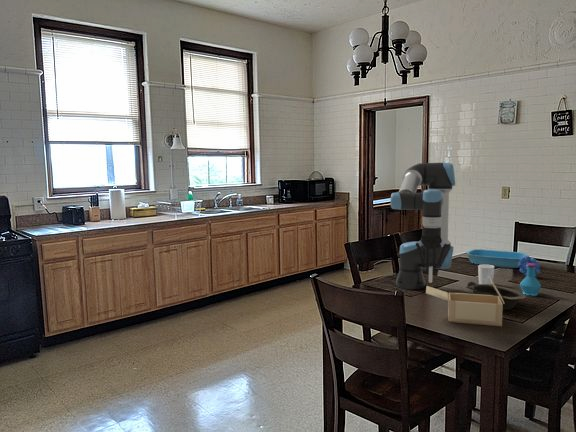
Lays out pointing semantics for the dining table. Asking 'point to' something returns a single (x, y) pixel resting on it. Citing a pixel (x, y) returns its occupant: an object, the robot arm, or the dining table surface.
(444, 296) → the flap
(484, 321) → the carton
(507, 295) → the stone bowl
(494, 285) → the flap
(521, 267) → the grapes
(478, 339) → the dining table surface
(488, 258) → the casserole dish
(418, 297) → the dining table surface
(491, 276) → the white cup
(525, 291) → the perfume bottle
